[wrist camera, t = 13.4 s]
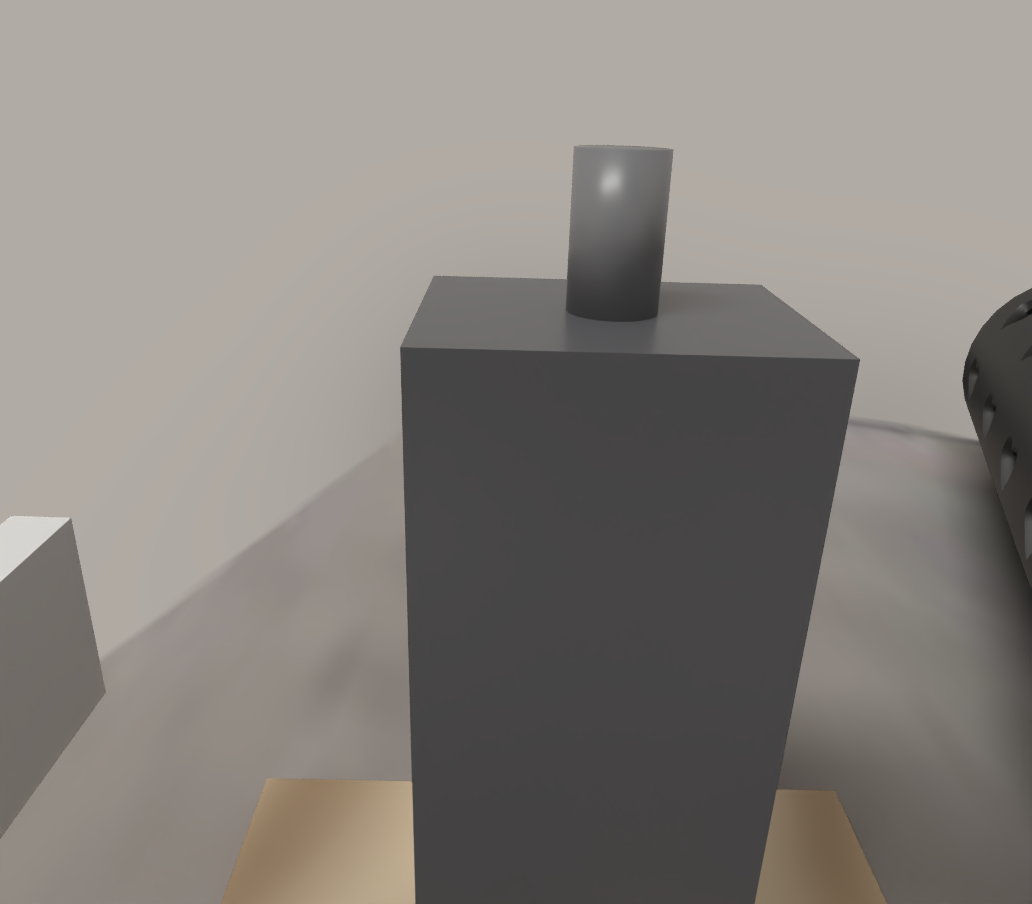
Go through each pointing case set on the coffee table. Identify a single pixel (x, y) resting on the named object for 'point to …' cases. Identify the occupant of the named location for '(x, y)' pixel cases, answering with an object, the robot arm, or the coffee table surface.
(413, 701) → the grey rectangular pillar
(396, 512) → the coffee table surface
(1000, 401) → the muzzle brake
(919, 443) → the coffee table surface
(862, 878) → the wooden board
